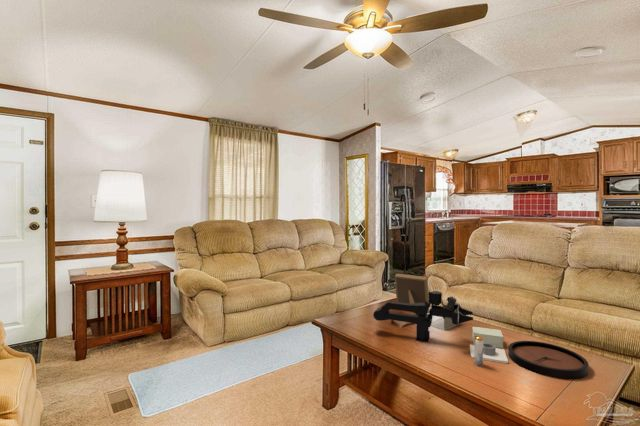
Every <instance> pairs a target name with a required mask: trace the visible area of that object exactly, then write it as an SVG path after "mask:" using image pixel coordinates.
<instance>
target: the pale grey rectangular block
mask: <svg viewBox="0 0 640 426" xmlns="http://www.w3.org/2000/svg"><path fill="white" fill-rule="evenodd" d="M459 305H460V306H461V303H458V307H459ZM458 323H459V321H458ZM456 326H457V325H454V324H453V323H452V320H451V318H445V319H444V318H443V317H440V318H438V319H435V320H432V323H431V326H430V327H432V328H435V329H438V330H441V331H447V330H449V329H451V328H453V327H456Z"/></svg>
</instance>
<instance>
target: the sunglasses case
mask: <svg viewBox="0 0 640 426" xmlns="http://www.w3.org/2000/svg"><path fill="white" fill-rule="evenodd" d="M390 321H391V322H390V323H391V325H393V326H395V327H398V328H400V329H401V328H404V327H408V326H412V325H416V324H415V323H409V322H402V321H396V320H390Z"/></svg>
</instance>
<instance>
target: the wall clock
mask: <svg viewBox="0 0 640 426" xmlns="http://www.w3.org/2000/svg"><path fill="white" fill-rule="evenodd" d="M507 349H508V350H507V351H508V353H507V356H508V358H509V359H510V361H511V362H512V363H514V364H516V365H517V366H519V367H521V368H522V369H525V370H527V371H530V372H531V373H535V374H537V375H541V376H545V377H549V378H554V379H560V380H580V379H584V378H586V377H587V376H588V375H589V368H590V367H589V362H588V360H587V359H586V358H584V357H583V356H582V355H580V354H579V353H578V352H576V351H573V350H571V349H569V348H565V347H562V346H559V345H556V344H553V343H552V344H551V343H548V342H547V343H546V342H543V341H535V340H518V341H517V340H516V341H514V342H512V343H511V342H510V344H508V348H507Z"/></svg>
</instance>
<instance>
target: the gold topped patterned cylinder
mask: <svg viewBox="0 0 640 426" xmlns="http://www.w3.org/2000/svg"><path fill="white" fill-rule="evenodd" d="M474 345H475V358H474V365H475V366H477V367H483V366H484V360H483V337H482V336H475V344H474Z"/></svg>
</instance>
